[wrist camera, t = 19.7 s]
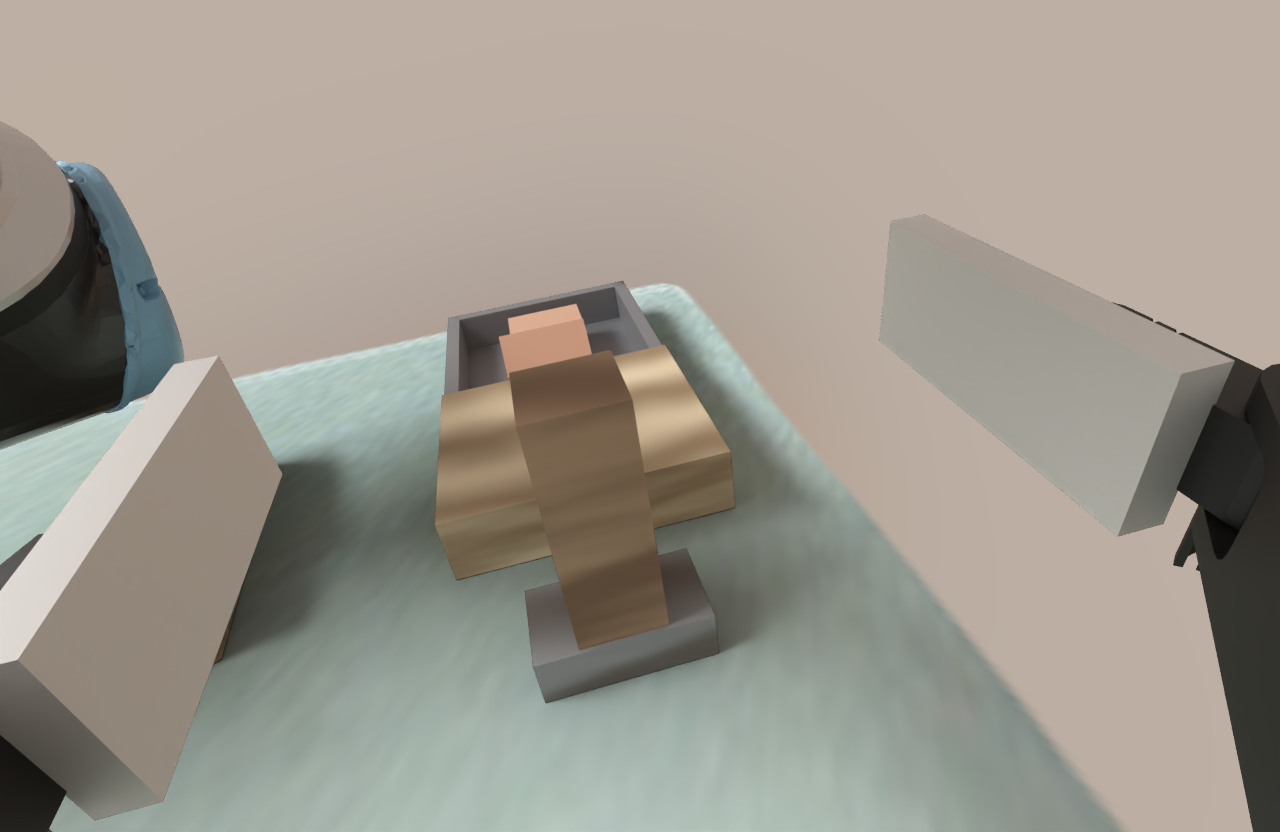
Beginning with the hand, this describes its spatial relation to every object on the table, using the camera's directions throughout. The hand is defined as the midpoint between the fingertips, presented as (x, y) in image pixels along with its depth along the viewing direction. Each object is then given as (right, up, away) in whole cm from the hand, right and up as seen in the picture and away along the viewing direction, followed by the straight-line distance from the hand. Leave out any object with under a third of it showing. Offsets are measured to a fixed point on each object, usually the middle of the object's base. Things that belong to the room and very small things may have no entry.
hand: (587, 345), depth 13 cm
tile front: (-5, +1, +36) cm, 36 cm away
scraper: (0, -12, +18) cm, 22 cm away
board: (-3, -5, +30) cm, 30 cm away
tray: (-6, +2, +42) cm, 43 cm away
